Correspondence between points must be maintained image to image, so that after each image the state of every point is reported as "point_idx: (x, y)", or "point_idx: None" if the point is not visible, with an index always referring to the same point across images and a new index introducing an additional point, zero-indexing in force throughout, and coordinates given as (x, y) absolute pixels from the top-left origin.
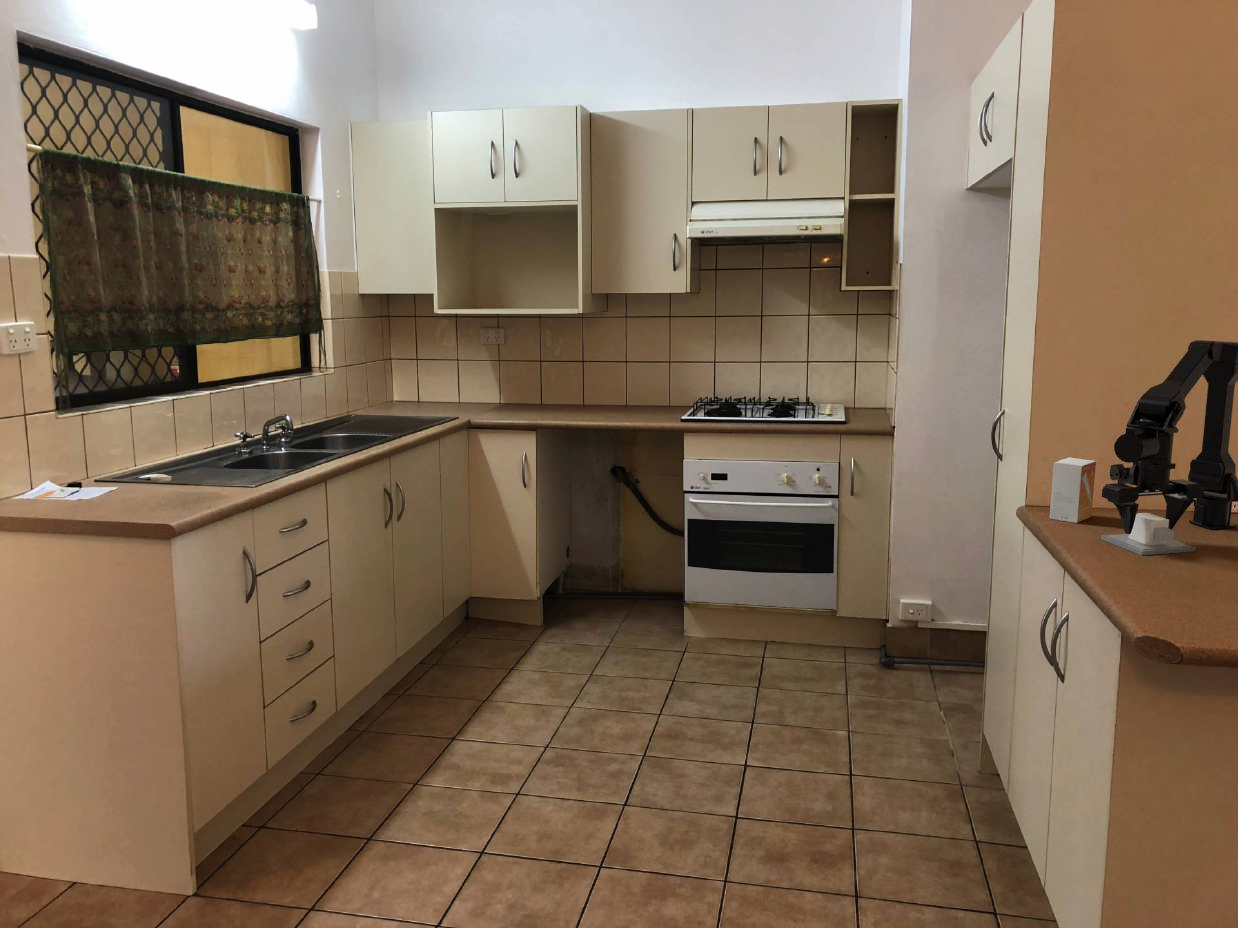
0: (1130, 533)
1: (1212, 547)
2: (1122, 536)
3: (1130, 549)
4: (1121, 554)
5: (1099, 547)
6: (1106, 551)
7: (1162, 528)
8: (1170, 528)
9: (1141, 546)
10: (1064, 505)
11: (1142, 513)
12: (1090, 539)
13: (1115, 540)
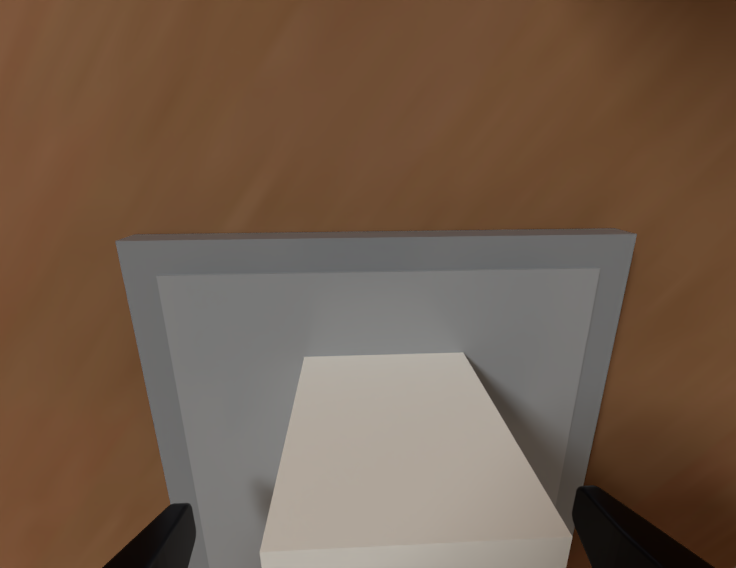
0: (188, 548)
1: (705, 526)
2: (275, 322)
3: None
4: (94, 555)
5: (18, 418)
6: (27, 496)
7: None
8: (589, 552)
9: (250, 547)
10: None
11: (457, 560)
12: (42, 216)
13: (160, 392)
